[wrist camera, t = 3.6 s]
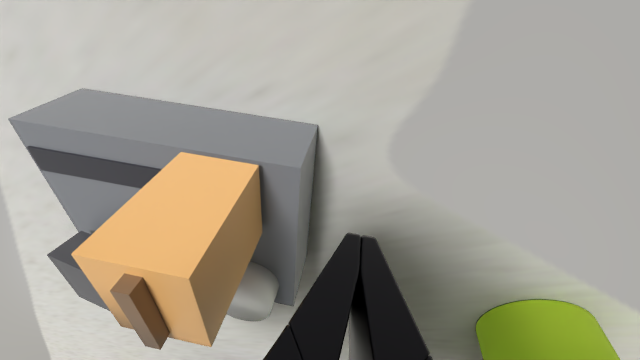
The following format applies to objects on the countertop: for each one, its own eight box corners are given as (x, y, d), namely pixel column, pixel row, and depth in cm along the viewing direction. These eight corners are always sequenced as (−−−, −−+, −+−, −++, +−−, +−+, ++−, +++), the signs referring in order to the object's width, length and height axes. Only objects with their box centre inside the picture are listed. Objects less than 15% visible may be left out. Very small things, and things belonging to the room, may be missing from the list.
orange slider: (262, 232, 11) (204, 364, 7) (197, 220, 11) (109, 342, 7) (258, 165, 9) (176, 297, 5) (180, 151, 9) (53, 270, 5)
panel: (306, 255, 16) (286, 331, 13) (139, 223, 17) (79, 286, 14) (317, 125, 11) (290, 192, 8) (81, 88, 12) (-34, 135, 9)
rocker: (174, 301, 13) (147, 333, 12) (107, 272, 14) (76, 299, 13) (157, 261, 12) (124, 294, 10) (81, 230, 12) (42, 257, 11)
